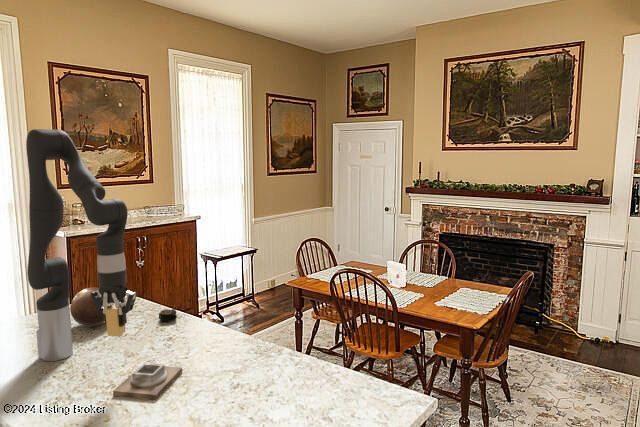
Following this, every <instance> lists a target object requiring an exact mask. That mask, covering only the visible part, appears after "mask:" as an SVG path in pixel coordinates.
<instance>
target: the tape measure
mask: <svg viewBox="0 0 640 427" xmlns="http://www.w3.org/2000/svg"><path fill="white" fill-rule="evenodd" d="M177 318H178V317H177V310H176V309H175V308H172V309H163V310H160V311H159V313H158V319H159V321H160V322H163V323H164V322H165V323H167V322H168V323H169V322H174V321H176V320H177Z"/></svg>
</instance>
